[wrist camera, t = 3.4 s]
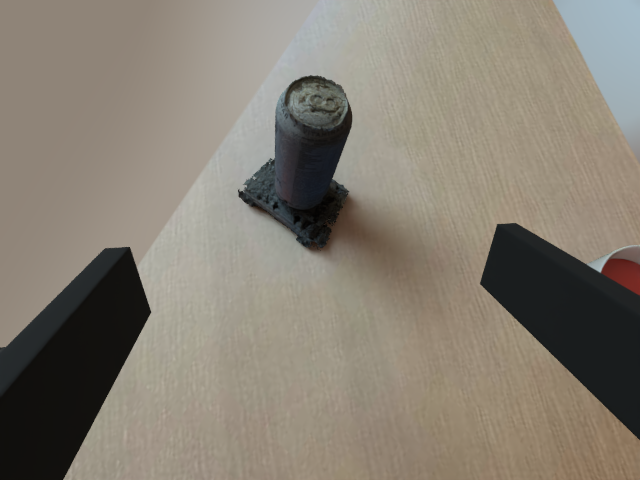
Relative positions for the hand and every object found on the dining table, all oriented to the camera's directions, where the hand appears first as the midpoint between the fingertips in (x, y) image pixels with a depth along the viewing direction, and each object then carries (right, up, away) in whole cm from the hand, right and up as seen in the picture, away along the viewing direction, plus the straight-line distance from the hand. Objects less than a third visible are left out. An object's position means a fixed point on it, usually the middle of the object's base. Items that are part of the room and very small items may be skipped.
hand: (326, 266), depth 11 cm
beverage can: (-3, +5, +16) cm, 17 cm away
